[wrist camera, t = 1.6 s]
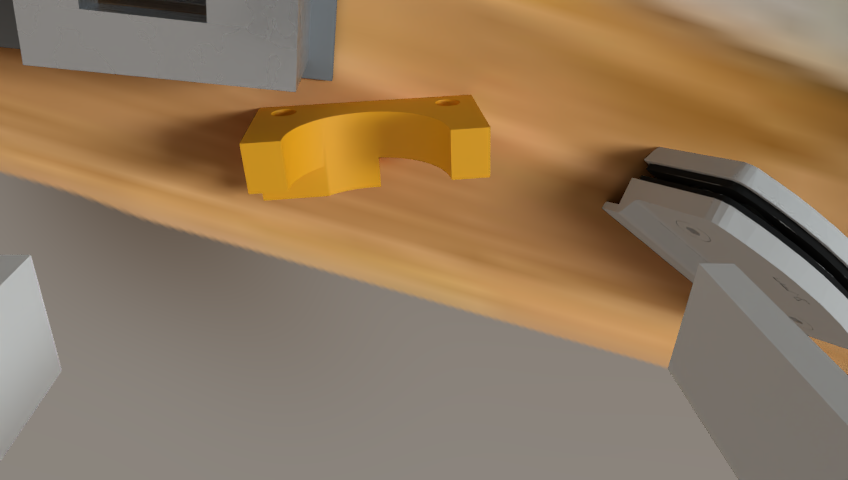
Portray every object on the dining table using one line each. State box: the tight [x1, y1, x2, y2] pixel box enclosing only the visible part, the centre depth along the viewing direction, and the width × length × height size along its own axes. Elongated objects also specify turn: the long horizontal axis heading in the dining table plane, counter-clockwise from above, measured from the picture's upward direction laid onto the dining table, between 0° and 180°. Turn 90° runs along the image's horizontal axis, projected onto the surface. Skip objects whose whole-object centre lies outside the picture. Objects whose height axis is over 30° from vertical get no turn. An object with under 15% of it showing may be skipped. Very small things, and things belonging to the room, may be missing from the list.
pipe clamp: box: [239, 95, 490, 200], centre depth 34 cm, size 12×4×6 cm, turn 92°
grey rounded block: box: [602, 147, 848, 349], centre depth 38 cm, size 17×5×10 cm, turn 51°
